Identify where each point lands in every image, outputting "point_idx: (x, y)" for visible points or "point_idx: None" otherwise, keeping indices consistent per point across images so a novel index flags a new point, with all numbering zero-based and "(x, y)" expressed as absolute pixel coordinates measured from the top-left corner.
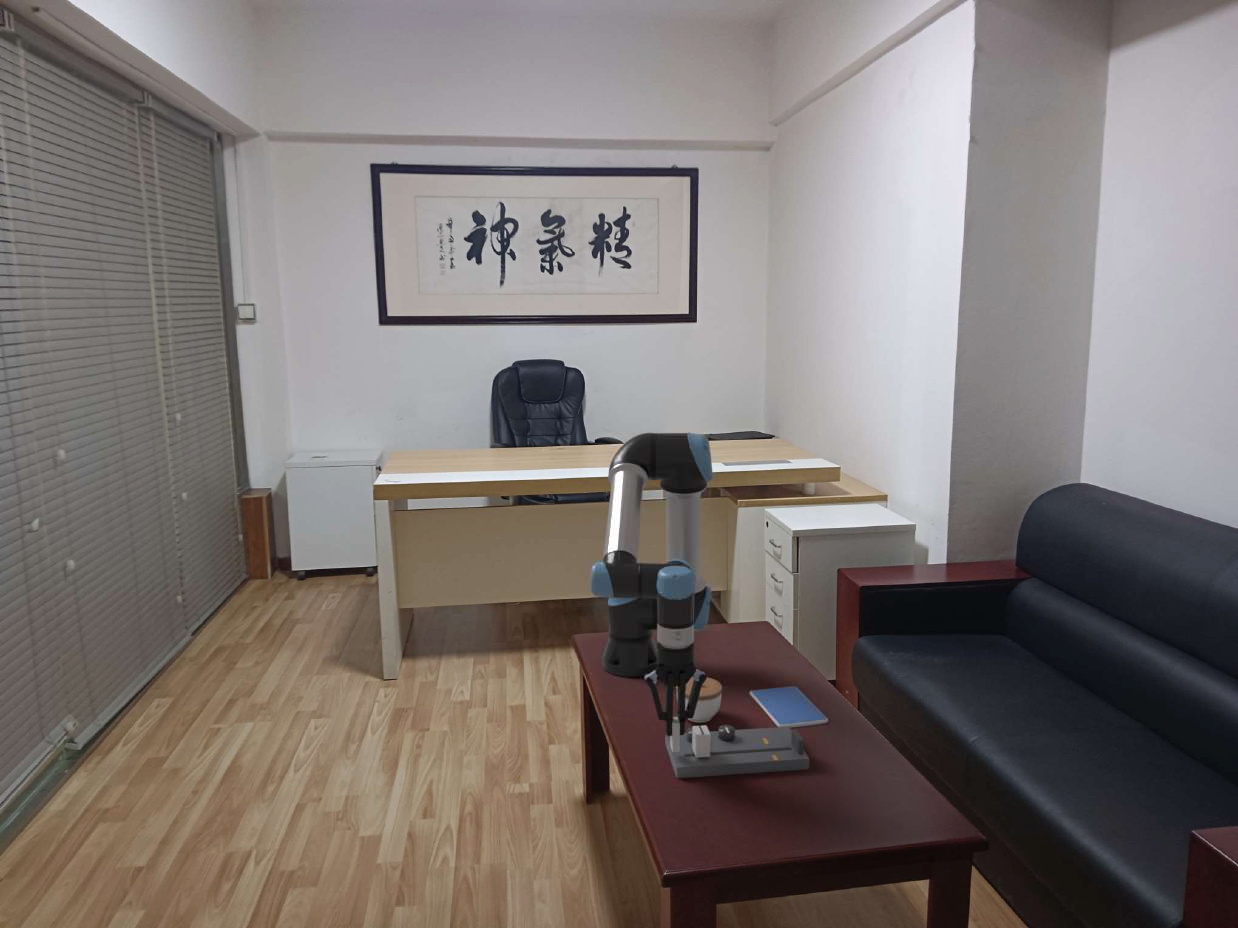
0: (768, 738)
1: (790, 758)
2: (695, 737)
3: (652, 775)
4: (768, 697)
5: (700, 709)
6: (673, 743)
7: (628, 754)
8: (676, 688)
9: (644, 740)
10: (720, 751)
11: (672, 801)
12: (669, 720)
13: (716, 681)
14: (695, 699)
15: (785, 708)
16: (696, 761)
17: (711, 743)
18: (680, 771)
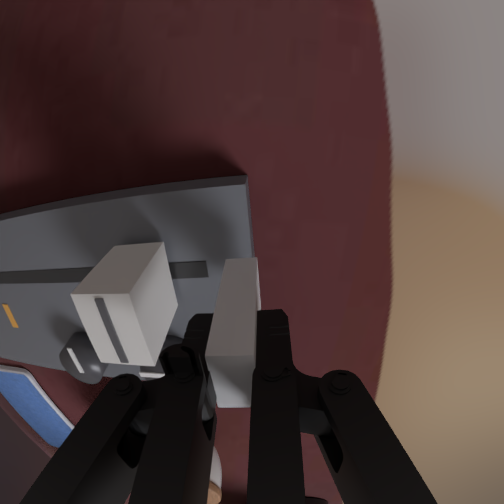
0: (9, 325)
1: None
2: (141, 296)
3: (331, 198)
4: None
5: None
6: (251, 278)
7: (376, 317)
8: (220, 494)
9: (317, 374)
10: None
11: (278, 31)
12: (277, 369)
13: (131, 490)
14: (55, 477)
15: (37, 410)
16: (164, 225)
17: None
18: (231, 181)
